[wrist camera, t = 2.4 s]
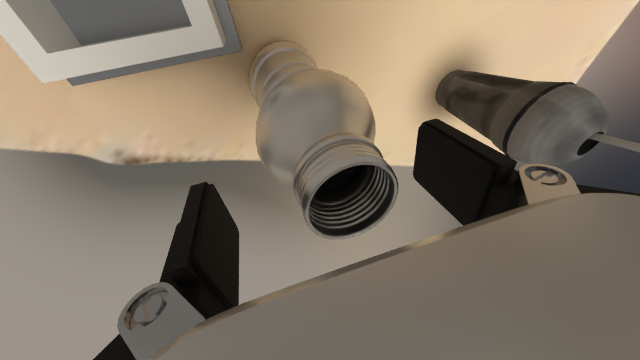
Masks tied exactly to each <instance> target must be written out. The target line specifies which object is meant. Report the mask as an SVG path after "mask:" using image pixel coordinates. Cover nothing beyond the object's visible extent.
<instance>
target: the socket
mask: <svg viewBox="0 0 640 360" xmlns="http://www.w3.org/2000/svg"><path fill="white" fill-rule="evenodd" d="M0 35H1V36H2V37H3V38H4V40H5V41H6V42H7V43H8V44H9V45H10V46H11V48H12V49H13V50H14V51H15V52H16V53H17V55H18V56H19V57H20V58H21V59H22V60H23V62H24V63H25V64H26V65H27V66H28V67H29V69H30V70H31V71H32V72H33V73H34V74H35V76H36V77H37V78H38V79H39V80H40V81H41V82H42V83H47V82H51V81H56V80H61V79H67V80H68V81H69V82H70V84H71V85H72V86H75V85H80V84H85V83H90V82H95V81H99V80H104V79H109V78H114V77H119V76H124V75H128V74H133V73H138V72H143V71H148V70H153V69H157V68H162V67H167V66H172V65H177V64H182V63H186V62H191V61H196V60H201V59H206V58H211V57H215V56H220V55H225V54H230V53H235V52H240V51H242V47H241V44H240V40H239V37H238V34H237V31H236V28H235V24H234V21H233V18H232V15H231V12H230V8H229V5H228V2H227V0H0Z"/></svg>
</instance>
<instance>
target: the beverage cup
mask: <svg viewBox="0 0 640 360" xmlns="http://www.w3.org/2000/svg"><path fill="white" fill-rule="evenodd" d="M436 99H437V102H438V104H439V105H441V106H442V107H444V108H445V109H446V110H447V111H448V112H450V113H451V114H453V115H454V116H456V117H457V118H459V119H460V120H462V121H463V122H464V123H466V124H467V125H469V126H470V127H472V128H473V129H475V130H476V131H478V132H479V133H481V134H482V135H484V136H485V137H486V138H488V139H489V140H491V141H492V143H493V144H494V145H495V146H496V147H498V148H499V149H500V150H501V151H502V152H504V153H505V155H506V156H508V157H510V158H512V159H516V160H519V161H522V162H525V163H528V164H544V165H559V164H564V163H568V162H571V161H574V160H576V159H579V158H581V157H583V156H585V155H586V154H588V153H590V152H591V151H592V150H594V149H595V148H596V147H597V146H598V145H599V144H600V143H601V142H604V143H608V144H611V145H615V146H619V147H623V148H626V149H630V150H634V151H637V152H640V144H638V143H634V142H630V141H626V140H622V139H618V138H614V137H610V136H606V133H607V130H608V126H609V117H608V111H607V108H606V106H605V105H604V103H603V102H602V101H601V100H600V99H599V98H597V97H596V96H595V95H594V94H593V93H591V92H590V91H588V90H586V89H584V88H582V87H578V86H577V85H576V84H574V83H572V82H561V83H560V82H539V81H536V82H535V81H528V80H522V79H516V78H509V77H503V76H497V75H491V74H484V73H478V72H471V71H461V70H457V71H454V72H451V73H450V74H448V75H447V76H446V77H445V78H444V79H443V80H442V81H441V83H440V85H439V86H438V89H437V92H436Z"/></svg>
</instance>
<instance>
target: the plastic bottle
mask: <svg viewBox="0 0 640 360" xmlns="http://www.w3.org/2000/svg"><path fill="white" fill-rule="evenodd" d="M249 83H250V89H251V92H252V95H253V97H254V99H255V100H256V102H257V104H258V105H259V107H260V110H259V114H258V118H257V122H256V145H257V151H258V154H259V156H260V159H261V161H262V163H263V164H264V165H265V167H266V168H267V170H268V171H269V172H270V174H271V175H272V176H273V177H274V178H275V179H276V180H277V181H278V182H279V183H280V184H282V185H283V186H285V187H287V188H289V189H291V190H294V192H295V196H296V199H297V201H298V203H299V204H300V206H301V208H302V212H303V215H304V219H305V221H306V223H307V225H308V226H309V227H310V229H311V230H312V231H313V232H314V233H316V234H317V235H319V236H321V237H324V238H328V239H346V238H350V237H354V236H356V235H359V234H362V233H364V232H366V231H368V230H369V229H371V228H372V227H374V226H375V225H377V224H378V223H379V222H380V221H381V220H382V219H383V218H384V217H385V216H386V215H387V214H388V213H389V211H390V210H391V208H392V207H393V205H394V203H395V201H396V198H397V194H398V181H397V178H396V176H395V174H394V172H393V170H392V168H391V167H390V166H389V165H388V164H387V162H386V161H385V160H384V159H383V156H382V154H381V153H380V151H379V149H378V148H377V147H376V146H375V145H374V140H375V133H376V130H375V119H374V115H373V112H372V109H371V106H370V104H369V102H368V100H367V98H366V96H365V94H364V92H363V91H362V90H361V89H360V88H359V87H358V85H357V84H355V83H354V82H352V81H351V80H350V79H348V78H347V77H344V76H342V75H340V74H337V73H335V72H332V71H329V70H322V69H318V68H317V66H316V64H315V62H314V60H313V59H312V57H311V55H310V54H309V53H308V52H307V51H306V50H305V49H304V48H302V47H301V46H299V45H297V44H295V43H293V42H287V41H280V42H275V43H272V44H269V45H268V46H266V47H264V48H263V49H262V50H261V51H260V52H259V53H258V54H257V56H256V57H255V59H254V61H253V63H252V65H251V69H250V74H249Z"/></svg>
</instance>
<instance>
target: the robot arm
mask: <svg viewBox="0 0 640 360" xmlns="http://www.w3.org/2000/svg"><path fill="white" fill-rule="evenodd" d="M516 163H517V162H516V161H515V160H513V159H511V158H510V157H508V156H506V155H504V154H502V153H500V152H498V151H496V150H495V149H493V148H491V147H489V146H487V145H485V144H483V143H481V142H480V141H478V140H476V139H474V138H472V137H470V136H468V135H467V134H465V133H463V132H461V131H459V130H457V129H455V128H453V127H452V126H450V125H448V124H446V123H444V122H442V121H440V120H439V119H433V120H429V121H425V122H423V123H422V125H421V126H420V127H419V130H418V137H417V145H416V154H415V162H414V170H413V175H414V178H415V180H416V181H417V182H418V183H419V184H420V185H421V186H422V187H423V188H424V189H426V190H427V191H428V192H429V193H430V194H431V195H432V196H433V197H434V198H435V199H436V200H437V201H438V202H439V203H440V204H441V205H442V206H443V207H444V208H445V209H447V210H448V211H449V212H450V213H451V214H452V215H453V216H454V217H455V218H456V219H457V220H458V221H459V222H460V223H461V224H462V225H463V226H462V227H459V228H456V229H453V230H450V231H447V232H444V233H441V234H438V235H435V236H432V237H430V238H426V239H423V240H420V241H418V242H415V243H412V244H409V245H406V246H403V247H401V248H397V249H394V250H392V251H389V252H386V253H383V254H380V255H377V256H374V257H371V258H368V259H366V260H363V261H360V262H357V263H354V264H351V265H348V266H346V267H343V268H340V269H337V270H334V271H331V272H329V273H326V274H323V275H320V276H317V277H315V278H312V279H309V280H306V281H303V282H300V283H297V284H294V285H292V286H289V287H286V288H283V289H281V290H278V291H275V292H273V293H270V294H267V295H264V296H262V297H259V298H256V299H254V300H251V301H248V302H245V303H243V304H241V305H238V303H239V290H238V289H239V231H238V228H237V226H236V224H235V222H234V220H233V218H232V217H231V215H230V213H229V211H228V209H227V208H226V206H225V205H224V202H223V200H222V199H221V197H220V195H219V193H218V192H217V190H216V188H215V186H214V185H213V184H210V185H209V184H208V183H207V182H203V183H200V184H196V185H193V186H191V187H190V190H189V194H188V197H187V200H186V204H185V207H184V211H183V214H182V218H181V221H180V223H178V224H177V226H176V229H175V233H174V236H173V239H172V242H171V246H170V250H169V252H168V256H167V259H166V262H165V266H164V269H163V272H162V276H161V279H160V282H159V283H155V284H152V285H150V286H148V287H146V288H144V289H143V290H141V291H140V292H139V293H137V294H136V295H135V296H134V297H133V298H132V299H131V300H130V301H129V302H128V303H127V305H126V306H125V307H124V309H123V310H122V312H121V314H120V316H119V319H118V325H117V326H118V330H119V333H120V334H119V335H118V336H117V337H116V338H115V339H114V340H113V341H112V342H111V343H110V344H108V345H107V347H105V348H104V349H103V350H102V352H100V353H99V354H98V355H97V356H96V357H95V358H94V359H93V360H640V194H635V193H630V192H623V191H616V190H610V189H603V188H597V187H590V186H584V185H577V184H575V182H574V180H573V179H572V177H571V176H570V175H569V174H568V173H566V172H564V171H563V170H561V169H559V168H556V167H553V166H550V165H544V164H527V165H524V166H522V167H521V168H520V169H519V171H516V170H514V168H515V166H516Z"/></svg>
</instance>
